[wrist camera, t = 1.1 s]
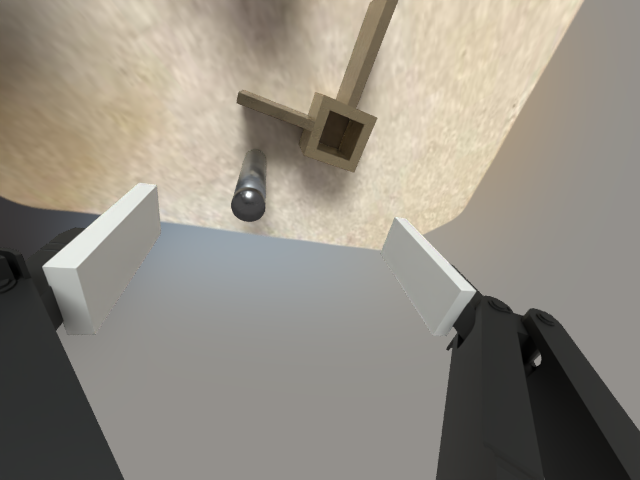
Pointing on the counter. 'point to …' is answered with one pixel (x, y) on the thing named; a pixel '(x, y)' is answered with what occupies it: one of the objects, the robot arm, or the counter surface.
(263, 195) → the pin
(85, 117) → the counter surface
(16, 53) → the counter surface
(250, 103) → the hinge
